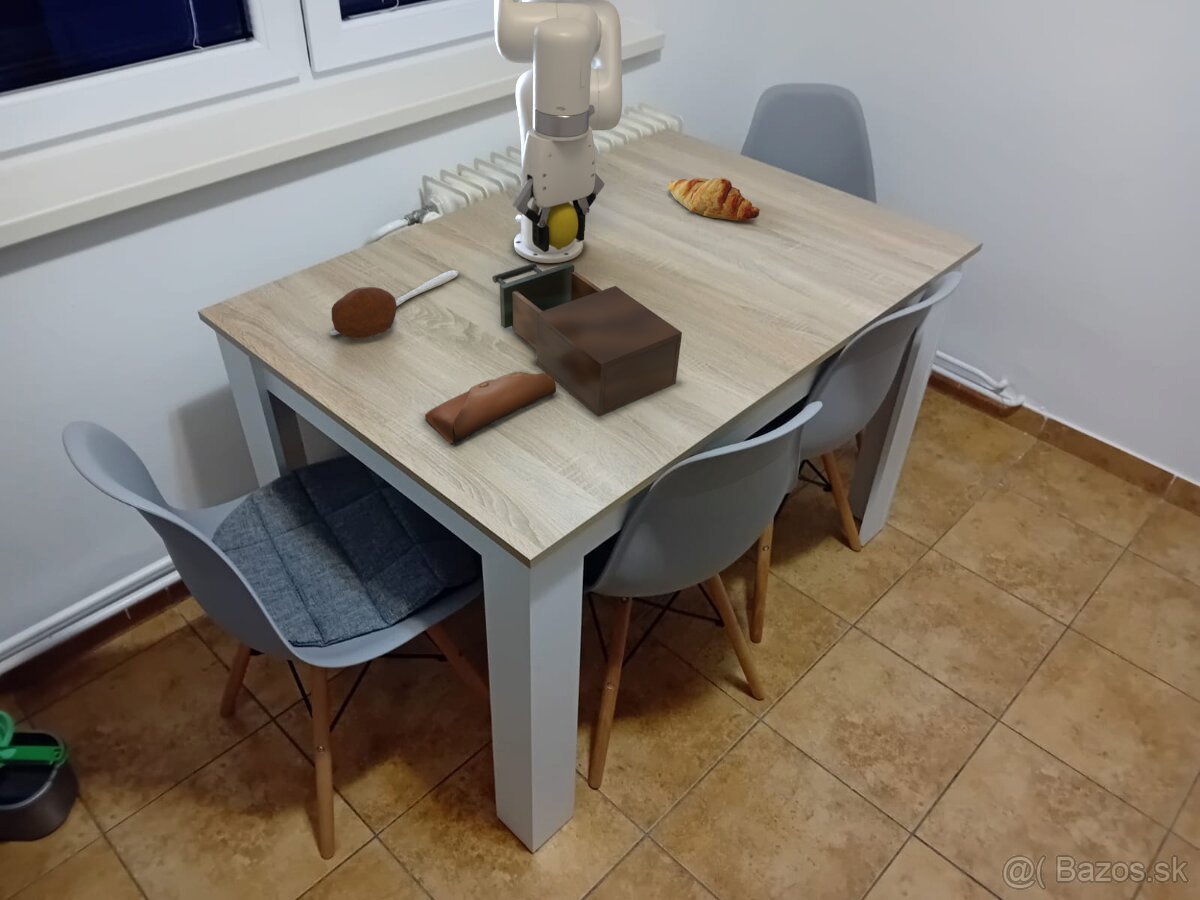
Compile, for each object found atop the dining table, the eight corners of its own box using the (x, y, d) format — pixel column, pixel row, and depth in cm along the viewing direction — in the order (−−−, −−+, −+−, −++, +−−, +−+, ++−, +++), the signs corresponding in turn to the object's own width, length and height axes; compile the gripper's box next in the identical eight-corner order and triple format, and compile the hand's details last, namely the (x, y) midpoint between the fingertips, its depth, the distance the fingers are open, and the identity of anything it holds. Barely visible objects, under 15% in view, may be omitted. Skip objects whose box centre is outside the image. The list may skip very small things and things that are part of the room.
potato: (321, 331, 141) (315, 291, 136) (377, 306, 148) (373, 266, 142) (354, 357, 138) (349, 316, 132) (410, 329, 144) (408, 289, 139)
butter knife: (464, 274, 156) (452, 267, 158) (337, 338, 140) (325, 330, 142) (464, 277, 157) (452, 270, 158) (338, 341, 141) (325, 333, 142)
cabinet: (536, 364, 138) (536, 313, 132) (612, 335, 145) (615, 285, 139) (598, 417, 129) (601, 364, 123) (675, 383, 136) (682, 332, 130)
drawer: (478, 307, 148) (477, 267, 143) (546, 284, 155) (546, 245, 150) (552, 369, 136) (553, 328, 131) (623, 342, 142) (626, 301, 138)
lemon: (572, 260, 132) (574, 209, 127) (535, 255, 133) (535, 204, 128) (581, 243, 136) (582, 193, 131) (545, 238, 137) (545, 188, 132)
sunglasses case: (519, 368, 136) (534, 346, 131) (546, 406, 135) (561, 385, 130) (419, 416, 126) (431, 394, 121) (447, 457, 125) (460, 437, 120)
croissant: (658, 213, 187) (650, 186, 180) (683, 178, 190) (676, 150, 183) (748, 243, 178) (744, 216, 171) (773, 206, 180) (770, 177, 173)
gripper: (595, 100, 128) (590, 218, 140) (491, 123, 120) (495, 247, 132) (628, 117, 124) (620, 238, 136) (522, 142, 116) (523, 268, 127)
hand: (558, 241), depth 134 cm, fingers closed on lemon, 5 cm apart
